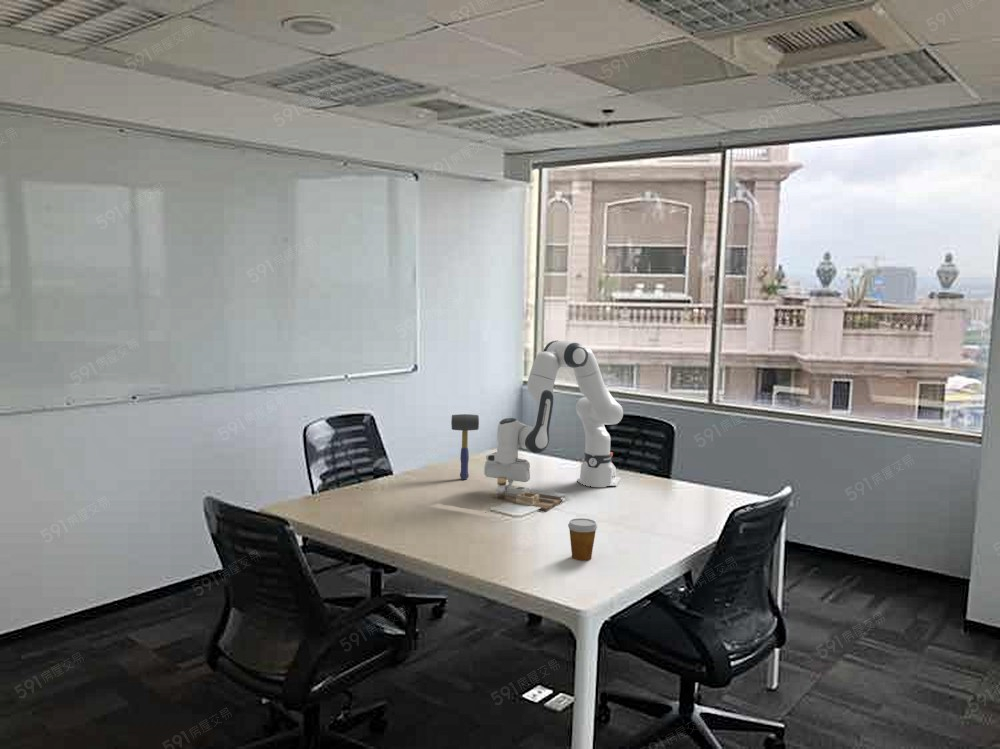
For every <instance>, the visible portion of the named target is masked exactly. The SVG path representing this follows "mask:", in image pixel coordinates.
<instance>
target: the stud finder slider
mask: <svg viewBox="0 0 1000 749" xmlns="http://www.w3.org/2000/svg"><path fill="white" fill-rule="evenodd" d="M530 490H531V488H530V487H527V486H519V485H513V484H512V485H511V486H510V487H508V488H507V493H511V494H517V495H519V494H521V493H523V492H528V493H529V492H530Z"/></svg>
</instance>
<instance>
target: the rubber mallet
mask: <svg viewBox="0 0 1000 749" xmlns="http://www.w3.org/2000/svg"><path fill="white" fill-rule="evenodd" d="M479 425H480V418H479V414H470V413H469V414H467V413H465V414H462V413H461V414H459V413H458V414H452V415H451V430H453V431H461V432H462V433H461V449H460V473H459V477H460V479H461V480H463V479H466V480H468V478H469V476H470V475H469V474H470V473H469V457H470V456H469V455H470V454H469V448H468V444H469V443H468V440H469V439H468V436H469V435H468V431H479V429H480V426H479Z"/></svg>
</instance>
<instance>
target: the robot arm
mask: <svg viewBox="0 0 1000 749" xmlns="http://www.w3.org/2000/svg"><path fill="white" fill-rule="evenodd" d="M561 367H562V368H571V369H573V373H574V376H575V379H576V382H577V386H578V388H579V392H580V393H581V394H582V395H583V396H584V397H581V398H579V399H578V400H577V402H576V404H575V412H576V415H577V416H578V417H579V418H580V421H581V422H582V426H583V430H584V436H585V452H584V455H583V460H584V461H583V462H582V463H581V465H580V473H579V478H577V479H576V482H577V481H578V483H580V484H581V485H582V484H583V485H582V486H585V485H586V486H585V487H590V486H591V488H607V487H606V486H616V485H617V484H618V482H619V480H620V479H621V480H622V478H621V477H619V476H617V468H616V466H615V465H614V463H613V462H612V457H613V455H614V452H612V451H611V441H612V439H611V435H610V433H609V432H608V431H607V428H606V427H605V425H607V426H608V425H609V426H612V425H618V424H619V423H620V422H621V421H622V419H623V417H624V409H623V406H622V405H621V404H620V403H619V402H618V401H616V399H615V398H614V397H613V396H612V393H611V392H610V390H608V388H607V386H606V384H605V382H604V378H603V376H602V372H601V369H600V365H599V364H598V361H597V358H596V355H595V354H594V352H593V350H592V349H590V348H589V347H586V346H585V347H584V346H583V345H582V344H580V343H579V342H574V341H573V342H572V341H568V340H552V341H550V342H548V343H547V344H546V345H545V347H544V349H543V351H540V352H538V354H537V355H536V357H535V359H534V361H533V363H532V366H531V369H530V372H529V375H528V379H527V387H526V388H527V391H528V393H529V394H530V396H532V398H534V401H535V402H536V407H537V408H536V415H535V421H534V425H533V426H531V425H527V424H525V423H523V422H521V421H519V420H517V418H514V417H509V418H503V419H501V420H500V421H499V423H498V426H497V433H496V434H497V435H496V441H497V448H496V452H493V453H489V454H487V455H486V456H485V460H486V461H485V462H484V467H483V468H484V470H483V473H484V475H485V478H494V479H497V477H506V481H507V482H508V484H507V483H506V484H505V491H506V490H507V488H508V487H510V486H512V485H513V483H514V482H521V483H528V482H529V481H530V479H531V471H530V468H531V467H530V464H531V463H530V462H529V461H528V460H527V459H522V458H519V449H520V448H523V449H525V450H528V451H529V452H531V453H534V454H540V453H543V452H544V451H545V450H546V449H547V448H548V446H549V443H550V424H551V419H552V414H553V408H554V406H553V405H554V388H555V386H554V385H555V381H556V378H557V374H558V371H559V369H560V368H561ZM621 480H620V481H621ZM619 483H620V482H619ZM618 485H619V484H618ZM618 485H617V486H618ZM617 486H616V487H617Z"/></svg>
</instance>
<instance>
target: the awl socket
mask: <svg viewBox="0 0 1000 749" xmlns="http://www.w3.org/2000/svg"><path fill="white" fill-rule="evenodd" d="M535 493H536V492H534V493H528V492H523V493H521V494H519V495H517V496H516V503H519V504H518V505H523V504H526V505H525V506H529V505H534V504H536V503H537V502H539V496H540V494H541V493H540V494H535ZM516 503H515V504H516Z"/></svg>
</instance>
